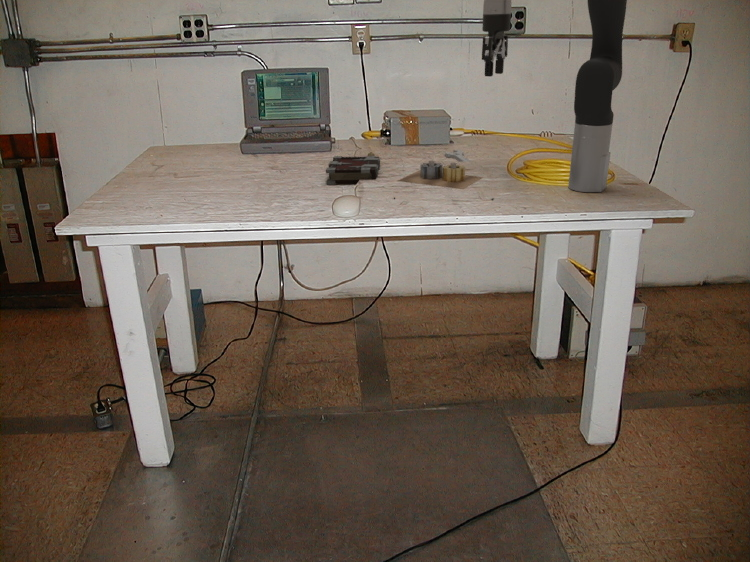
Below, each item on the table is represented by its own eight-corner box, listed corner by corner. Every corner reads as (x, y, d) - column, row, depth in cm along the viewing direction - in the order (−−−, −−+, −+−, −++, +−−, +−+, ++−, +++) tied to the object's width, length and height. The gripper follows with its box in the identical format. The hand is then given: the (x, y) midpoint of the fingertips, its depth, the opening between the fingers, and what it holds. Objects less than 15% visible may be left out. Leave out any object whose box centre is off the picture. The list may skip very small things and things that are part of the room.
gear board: (483, 182, 175) (484, 161, 172) (463, 194, 164) (464, 172, 161) (419, 175, 184) (419, 154, 182) (397, 186, 173) (396, 164, 171)
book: (325, 186, 177) (324, 168, 174) (336, 166, 199) (336, 150, 197) (377, 185, 175) (376, 168, 173) (382, 165, 198) (382, 149, 196)
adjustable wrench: (480, 172, 188) (481, 166, 188) (460, 173, 188) (460, 167, 187) (461, 154, 211) (461, 149, 210) (442, 155, 211) (442, 150, 210)
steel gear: (442, 174, 178) (443, 162, 177) (441, 179, 173) (442, 167, 171) (421, 174, 179) (421, 162, 178) (419, 179, 174) (419, 167, 172)
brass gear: (468, 178, 174) (468, 165, 172) (459, 183, 169) (459, 170, 167) (448, 175, 176) (448, 163, 175) (438, 180, 172) (438, 168, 170)
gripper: (501, 12, 162) (498, 77, 168) (518, 12, 173) (514, 73, 179) (474, 13, 165) (472, 77, 172) (492, 12, 176) (490, 72, 183)
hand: (494, 74), depth 176 cm, fingers open, 8 cm apart
